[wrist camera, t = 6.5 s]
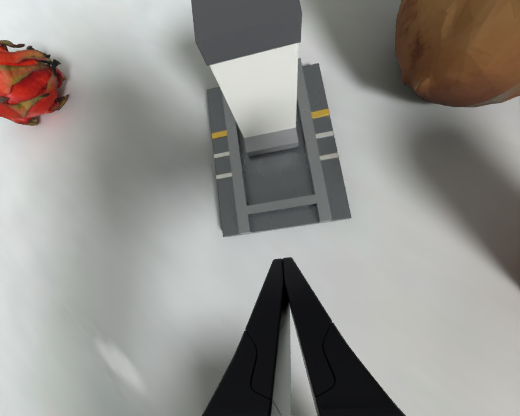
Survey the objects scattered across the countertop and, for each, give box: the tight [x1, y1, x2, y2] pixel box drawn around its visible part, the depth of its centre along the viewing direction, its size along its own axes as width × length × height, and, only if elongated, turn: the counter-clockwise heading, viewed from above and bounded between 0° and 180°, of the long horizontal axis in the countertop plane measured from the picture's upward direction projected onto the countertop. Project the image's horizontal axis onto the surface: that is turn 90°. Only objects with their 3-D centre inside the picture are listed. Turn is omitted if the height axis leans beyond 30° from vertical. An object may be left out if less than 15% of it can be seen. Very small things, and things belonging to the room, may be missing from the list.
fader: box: [191, 0, 302, 157], centre depth 16 cm, size 6×5×12 cm
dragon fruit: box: [0, 40, 68, 126], centre depth 25 cm, size 8×8×12 cm
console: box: [207, 58, 351, 237], centre depth 21 cm, size 16×12×2 cm
